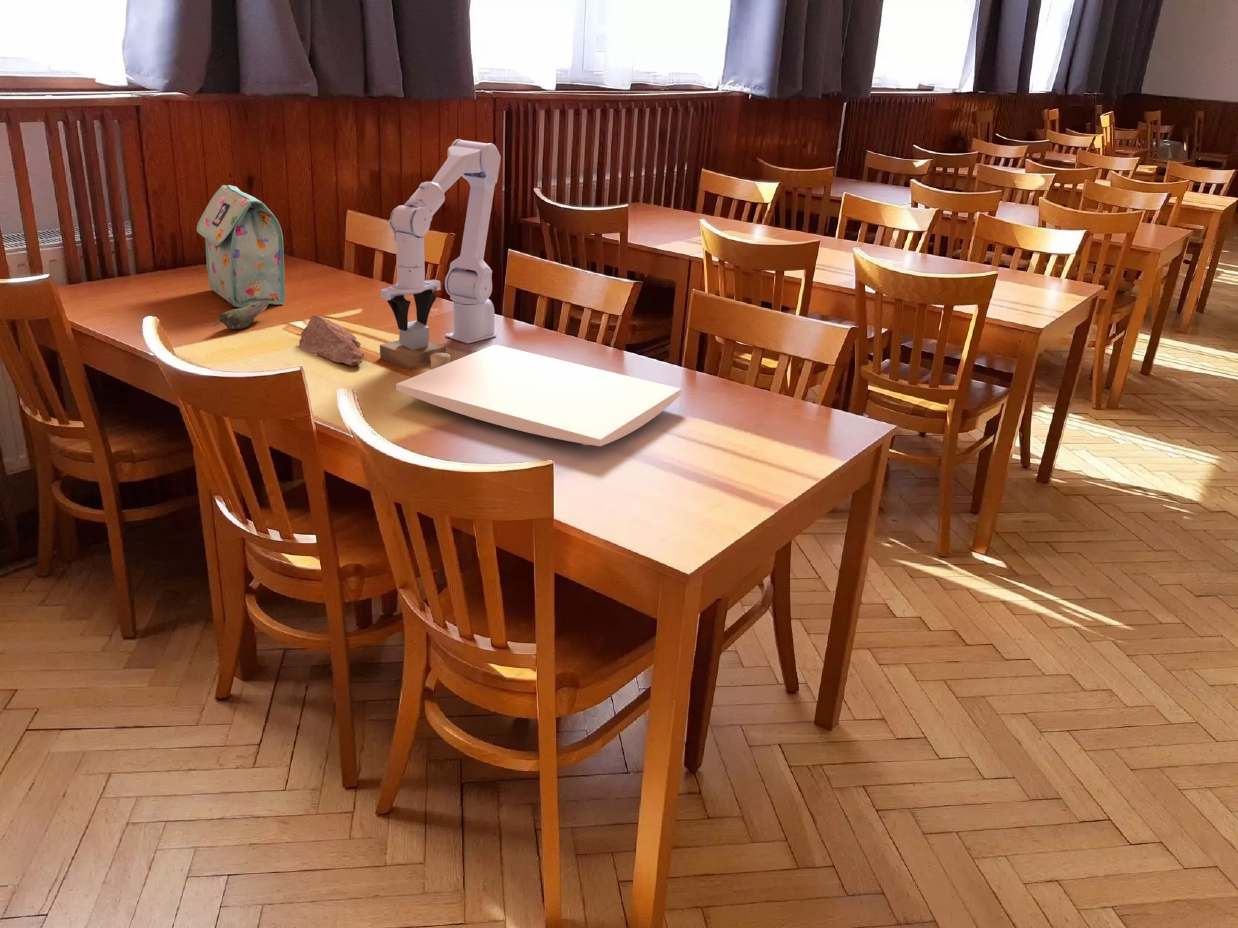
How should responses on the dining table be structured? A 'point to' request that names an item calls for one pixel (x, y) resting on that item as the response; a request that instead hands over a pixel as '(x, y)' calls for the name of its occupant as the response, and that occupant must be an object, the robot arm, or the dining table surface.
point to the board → (542, 395)
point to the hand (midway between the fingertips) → (412, 327)
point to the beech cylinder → (439, 359)
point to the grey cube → (414, 335)
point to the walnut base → (409, 354)
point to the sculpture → (242, 315)
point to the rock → (330, 341)
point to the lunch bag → (243, 248)
